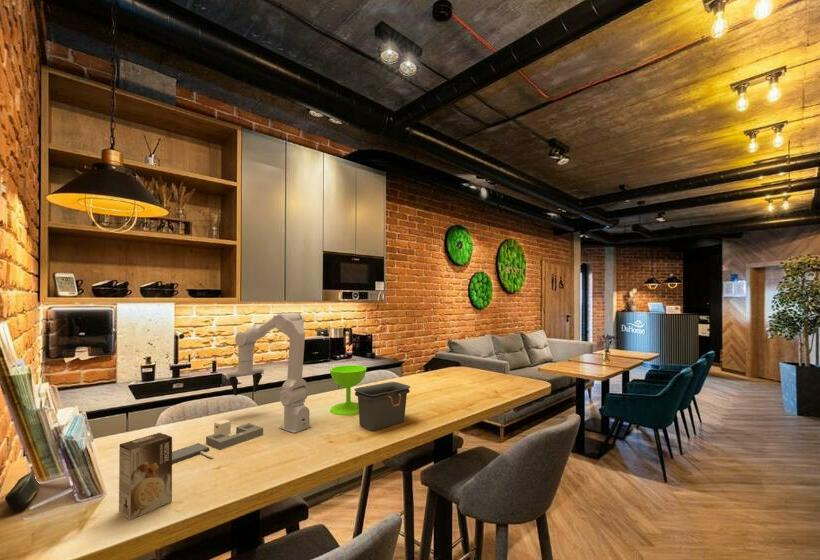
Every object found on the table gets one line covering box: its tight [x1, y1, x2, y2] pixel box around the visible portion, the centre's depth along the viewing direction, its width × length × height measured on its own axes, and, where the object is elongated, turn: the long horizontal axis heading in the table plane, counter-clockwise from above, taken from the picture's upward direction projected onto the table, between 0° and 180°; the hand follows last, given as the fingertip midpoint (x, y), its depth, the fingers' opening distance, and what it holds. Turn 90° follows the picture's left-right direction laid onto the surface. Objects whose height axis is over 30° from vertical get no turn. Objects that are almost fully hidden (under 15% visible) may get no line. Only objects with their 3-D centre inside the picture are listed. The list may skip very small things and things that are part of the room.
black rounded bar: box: [4, 470, 41, 513], centre depth 94 cm, size 5×3×15 cm
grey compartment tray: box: [205, 422, 264, 450], centre depth 132 cm, size 9×16×2 cm, turn 146°
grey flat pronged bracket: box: [172, 442, 214, 465], centre depth 117 cm, size 14×13×1 cm
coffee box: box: [118, 432, 173, 520], centre depth 91 cm, size 9×6×16 cm
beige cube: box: [213, 419, 232, 435], centre depth 137 cm, size 4×4×4 cm
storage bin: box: [353, 381, 411, 431], centre depth 147 cm, size 21×16×14 cm
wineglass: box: [329, 364, 367, 416], centre depth 166 cm, size 16×16×18 cm
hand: (245, 393), depth 156 cm, fingers open, 7 cm apart
